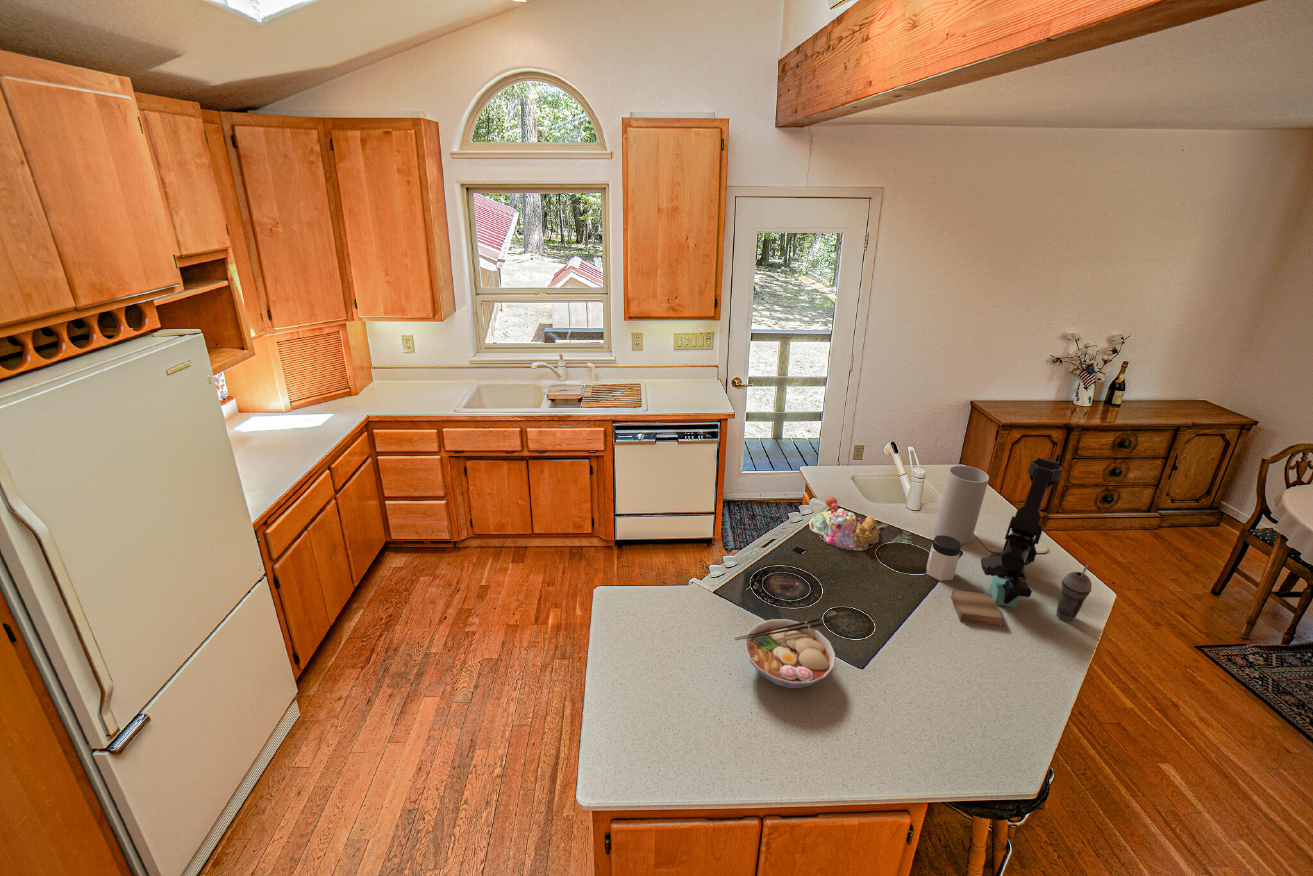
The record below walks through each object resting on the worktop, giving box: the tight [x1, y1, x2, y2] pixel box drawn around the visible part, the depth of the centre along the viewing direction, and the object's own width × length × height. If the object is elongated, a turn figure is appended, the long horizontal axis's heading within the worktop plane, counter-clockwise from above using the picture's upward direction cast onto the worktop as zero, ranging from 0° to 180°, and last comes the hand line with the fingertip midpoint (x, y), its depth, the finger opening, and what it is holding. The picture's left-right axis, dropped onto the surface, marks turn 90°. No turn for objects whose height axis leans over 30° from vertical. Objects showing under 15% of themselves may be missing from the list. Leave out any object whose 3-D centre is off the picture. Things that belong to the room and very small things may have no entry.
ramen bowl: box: [734, 617, 836, 689], centre depth 162 cm, size 25×23×8 cm
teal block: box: [988, 576, 1020, 608], centre depth 192 cm, size 6×6×6 cm
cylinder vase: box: [933, 464, 990, 545], centre depth 221 cm, size 12×12×25 cm
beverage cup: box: [1055, 562, 1092, 623], centre depth 182 cm, size 7×7×20 cm
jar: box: [926, 535, 962, 582], centre depth 202 cm, size 9×8×12 cm
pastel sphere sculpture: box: [808, 496, 881, 551], centre depth 224 cm, size 25×24×9 cm
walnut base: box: [950, 589, 1004, 627], centre depth 187 cm, size 11×11×3 cm
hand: (1002, 596), depth 193 cm, fingers closed on teal block, 6 cm apart
